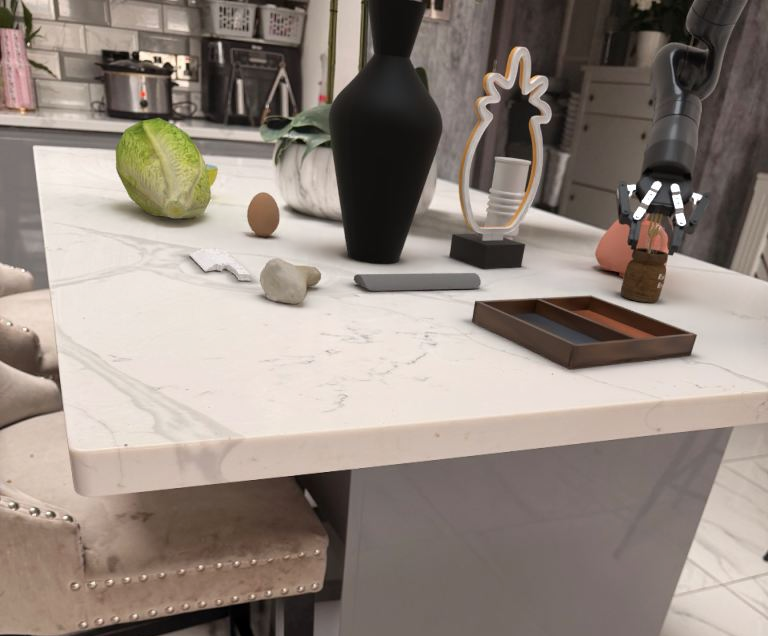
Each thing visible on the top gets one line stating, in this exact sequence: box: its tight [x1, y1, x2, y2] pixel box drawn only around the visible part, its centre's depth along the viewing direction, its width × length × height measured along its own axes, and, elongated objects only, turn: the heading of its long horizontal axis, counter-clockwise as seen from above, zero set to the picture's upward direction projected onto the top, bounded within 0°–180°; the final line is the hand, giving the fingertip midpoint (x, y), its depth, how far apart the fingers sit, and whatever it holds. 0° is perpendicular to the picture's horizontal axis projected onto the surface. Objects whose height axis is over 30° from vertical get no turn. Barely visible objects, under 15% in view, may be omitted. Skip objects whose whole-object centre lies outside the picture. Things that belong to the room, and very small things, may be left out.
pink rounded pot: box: [594, 214, 669, 278], centre depth 132 cm, size 12×14×10 cm
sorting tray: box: [471, 294, 698, 370], centre depth 93 cm, size 20×18×3 cm
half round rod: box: [353, 272, 482, 292], centre depth 109 cm, size 4×20×2 cm, turn 118°
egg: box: [246, 191, 281, 237], centre depth 128 cm, size 5×5×7 cm
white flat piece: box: [188, 247, 252, 281], centre depth 106 cm, size 5×15×1 cm, turn 24°
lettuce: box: [115, 117, 212, 219], centre depth 134 cm, size 15×25×16 cm
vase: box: [328, 0, 444, 265], centre depth 115 cm, size 17×17×35 cm
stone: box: [259, 257, 322, 305], centre depth 97 cm, size 11×6×5 cm, turn 173°
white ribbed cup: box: [483, 156, 532, 241], centre depth 145 cm, size 7×7×15 cm
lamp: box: [449, 46, 553, 270], centre depth 123 cm, size 17×9×32 cm, turn 125°
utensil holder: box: [620, 213, 669, 303], centre depth 115 cm, size 6×6×12 cm
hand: (653, 248), depth 113 cm, fingers closed on utensil holder, 5 cm apart
